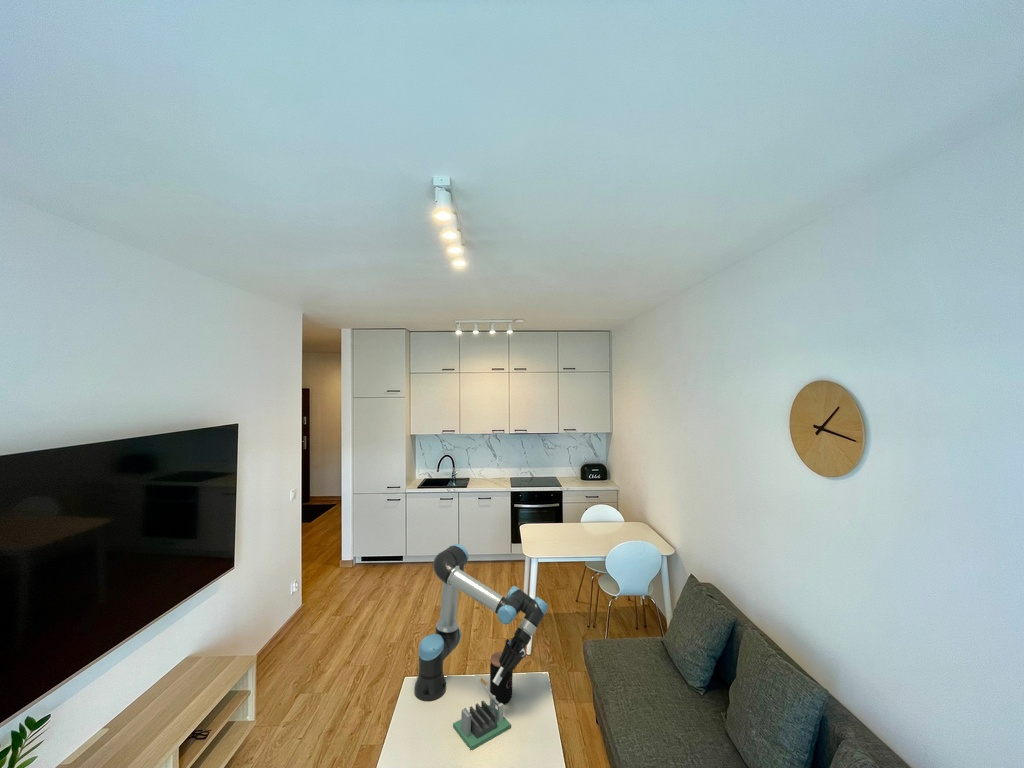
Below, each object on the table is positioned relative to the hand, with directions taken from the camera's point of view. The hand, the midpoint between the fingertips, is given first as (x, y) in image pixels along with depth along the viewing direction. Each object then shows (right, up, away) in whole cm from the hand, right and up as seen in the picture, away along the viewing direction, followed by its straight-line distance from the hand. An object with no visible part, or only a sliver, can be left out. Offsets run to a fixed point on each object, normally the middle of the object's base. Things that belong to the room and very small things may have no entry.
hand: (495, 683), depth 180 cm
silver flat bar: (-3, -4, -1) cm, 5 cm away
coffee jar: (+2, -18, +15) cm, 23 cm away
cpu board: (-6, -16, -4) cm, 18 cm away
